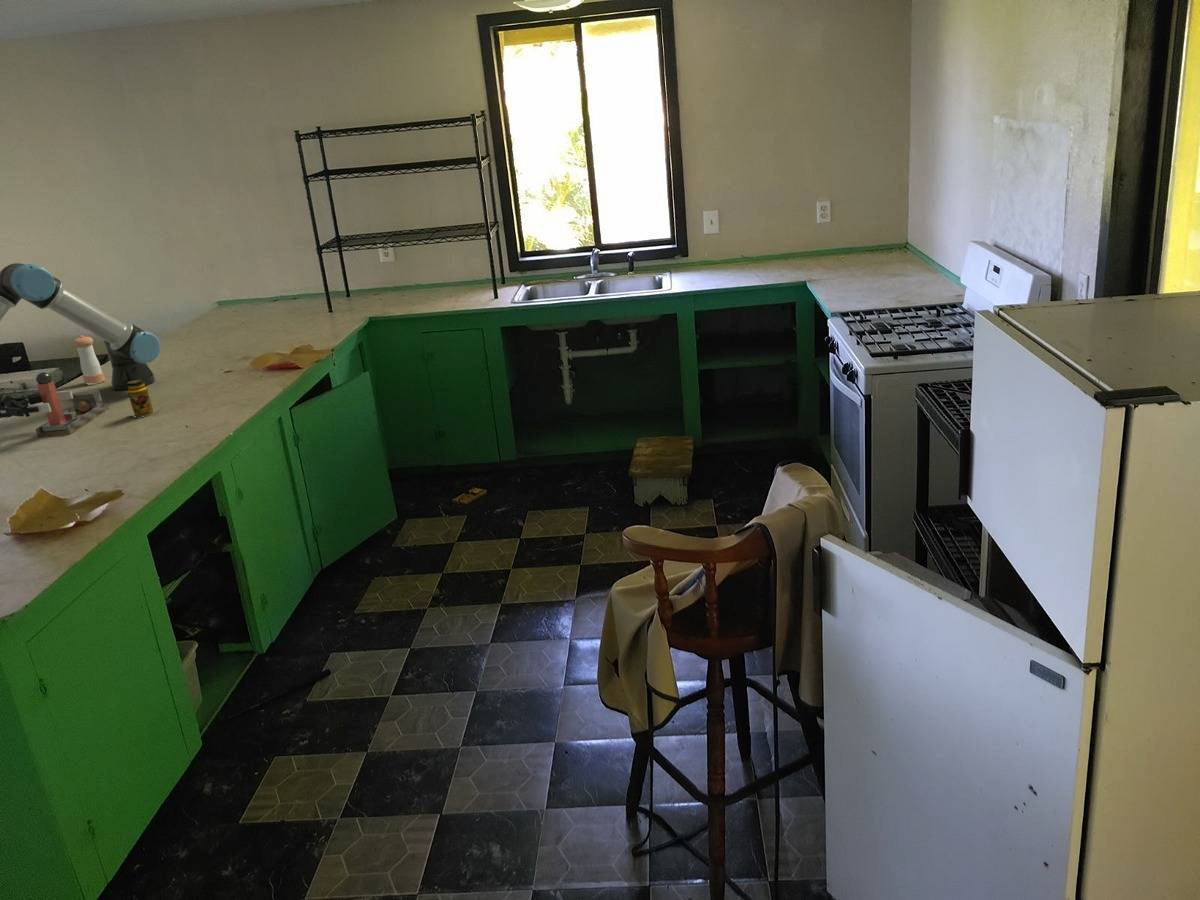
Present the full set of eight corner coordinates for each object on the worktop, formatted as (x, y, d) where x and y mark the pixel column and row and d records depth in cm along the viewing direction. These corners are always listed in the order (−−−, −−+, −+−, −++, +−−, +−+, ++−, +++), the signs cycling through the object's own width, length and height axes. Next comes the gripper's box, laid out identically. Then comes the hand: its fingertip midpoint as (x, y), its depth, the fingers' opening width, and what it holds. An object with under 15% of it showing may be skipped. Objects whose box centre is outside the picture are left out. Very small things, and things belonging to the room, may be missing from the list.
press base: (78, 411, 333) (72, 392, 330) (108, 409, 333) (103, 389, 330) (37, 437, 309) (31, 416, 306) (70, 434, 308) (64, 413, 306)
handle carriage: (58, 422, 318) (41, 368, 311) (80, 420, 317) (63, 366, 311) (43, 431, 309) (25, 376, 302) (65, 429, 309) (48, 374, 302)
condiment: (141, 418, 318) (132, 384, 313) (126, 416, 322) (116, 383, 318) (160, 411, 324) (151, 378, 319) (144, 409, 328) (135, 376, 323)
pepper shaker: (99, 384, 367) (85, 337, 360) (81, 386, 367) (67, 338, 361) (108, 379, 374) (95, 332, 367) (91, 380, 374) (77, 333, 367)
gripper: (22, 405, 322) (83, 400, 321) (-22, 430, 299) (43, 424, 298) (15, 384, 319) (76, 379, 319) (-30, 408, 296) (36, 401, 295)
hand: (60, 400), depth 308 cm, fingers open, 13 cm apart
